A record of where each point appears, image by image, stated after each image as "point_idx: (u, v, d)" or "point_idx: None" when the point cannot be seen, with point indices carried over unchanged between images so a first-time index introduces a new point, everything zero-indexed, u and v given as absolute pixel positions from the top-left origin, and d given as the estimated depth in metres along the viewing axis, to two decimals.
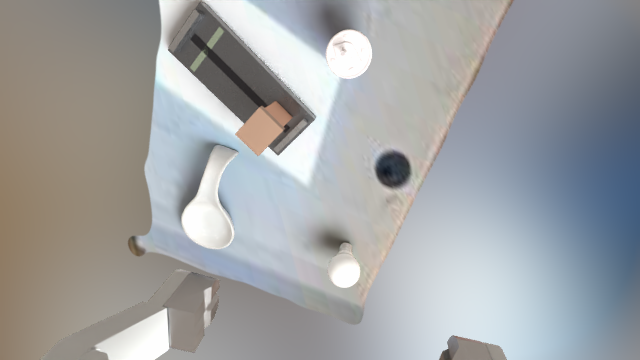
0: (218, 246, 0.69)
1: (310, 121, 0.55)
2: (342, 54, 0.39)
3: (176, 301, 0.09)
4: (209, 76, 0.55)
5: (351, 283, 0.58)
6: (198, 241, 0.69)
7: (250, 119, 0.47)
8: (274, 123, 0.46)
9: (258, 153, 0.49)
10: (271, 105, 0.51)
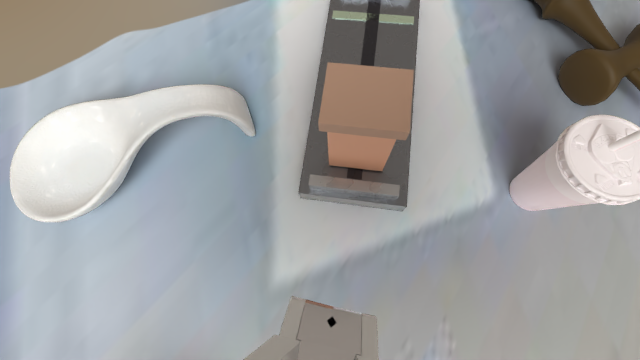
0: (26, 205, 0.29)
1: (397, 202, 0.29)
2: None
3: (306, 334, 0.09)
4: (341, 36, 0.34)
5: None
6: (18, 164, 0.31)
7: (378, 69, 0.22)
8: (407, 110, 0.21)
9: (324, 120, 0.21)
10: None
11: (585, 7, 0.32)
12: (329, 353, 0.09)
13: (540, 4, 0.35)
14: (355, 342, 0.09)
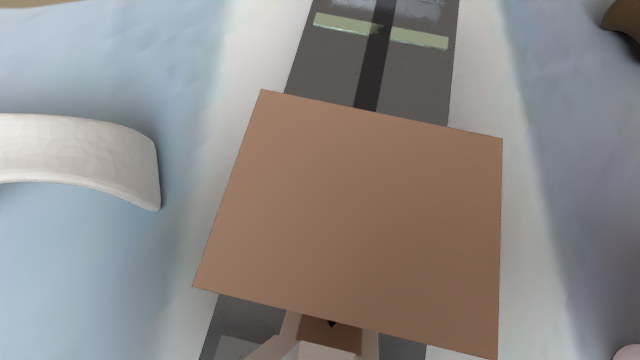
0: None
1: None
2: None
3: (307, 334, 0.09)
4: (325, 56, 0.20)
5: None
6: None
7: (401, 125, 0.08)
8: (489, 269, 0.06)
9: (213, 277, 0.06)
10: None
11: None
12: (329, 353, 0.09)
13: None
14: (355, 342, 0.09)
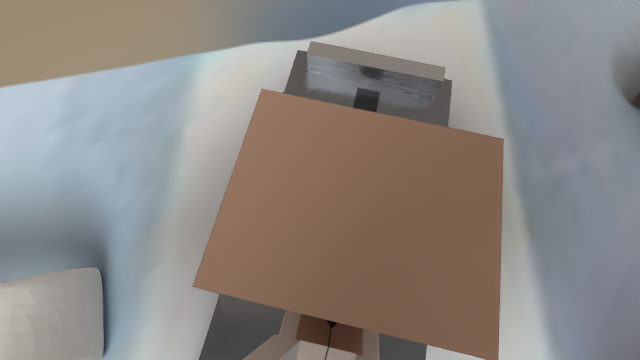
0: None
1: None
2: None
3: (306, 334, 0.09)
4: None
5: None
6: None
7: (401, 126, 0.08)
8: (489, 270, 0.06)
9: (214, 277, 0.06)
10: None
11: None
12: (330, 353, 0.09)
13: None
14: (356, 342, 0.09)
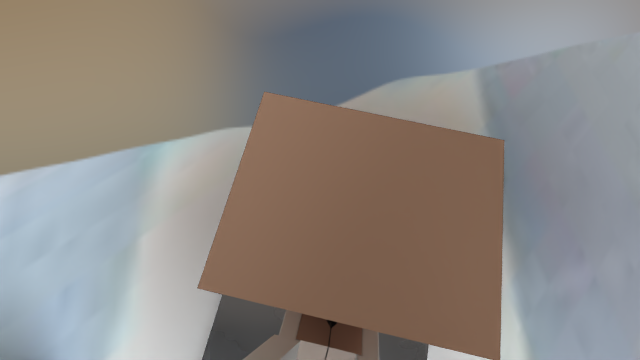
0: None
1: None
2: None
3: (306, 334, 0.09)
4: None
5: None
6: None
7: (403, 128, 0.08)
8: (491, 270, 0.06)
9: (219, 279, 0.06)
10: None
11: None
12: (330, 353, 0.09)
13: None
14: (356, 342, 0.09)
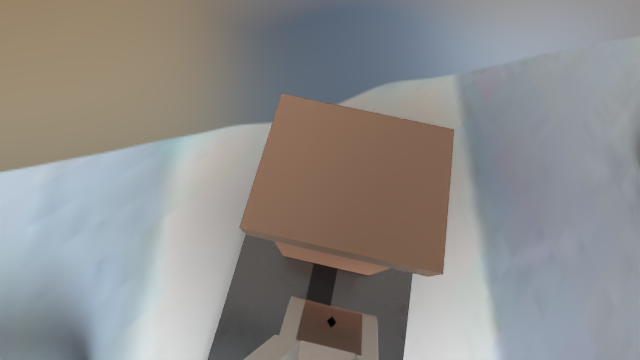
0: None
1: None
2: None
3: (306, 334, 0.09)
4: (268, 269, 0.18)
5: None
6: None
7: (382, 120, 0.11)
8: (440, 216, 0.09)
9: (253, 221, 0.09)
10: None
11: None
12: (329, 353, 0.09)
13: None
14: (355, 342, 0.09)
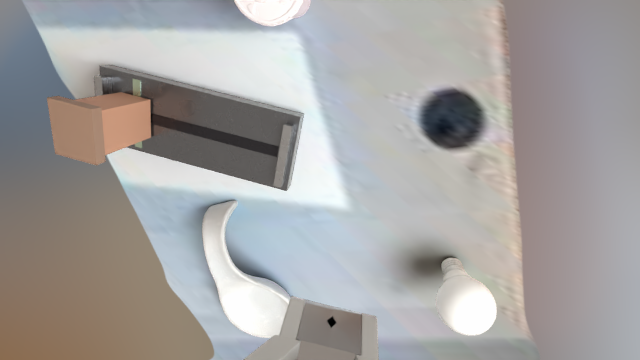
0: None
1: (297, 122, 0.37)
2: None
3: (306, 333, 0.09)
4: (158, 143, 0.41)
5: (489, 323, 0.33)
6: (263, 333, 0.51)
7: (52, 121, 0.32)
8: (76, 107, 0.31)
9: (94, 161, 0.33)
10: (100, 96, 0.36)
11: None
12: (329, 353, 0.09)
13: None
14: (355, 342, 0.09)
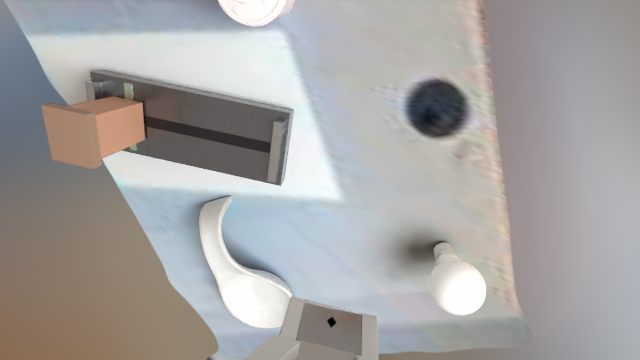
0: None
1: (287, 118, 0.38)
2: None
3: (306, 334, 0.09)
4: (153, 144, 0.42)
5: (479, 302, 0.35)
6: (264, 324, 0.52)
7: (47, 128, 0.32)
8: (70, 113, 0.31)
9: (90, 165, 0.34)
10: (93, 101, 0.37)
11: None
12: (329, 353, 0.09)
13: None
14: (355, 342, 0.09)
